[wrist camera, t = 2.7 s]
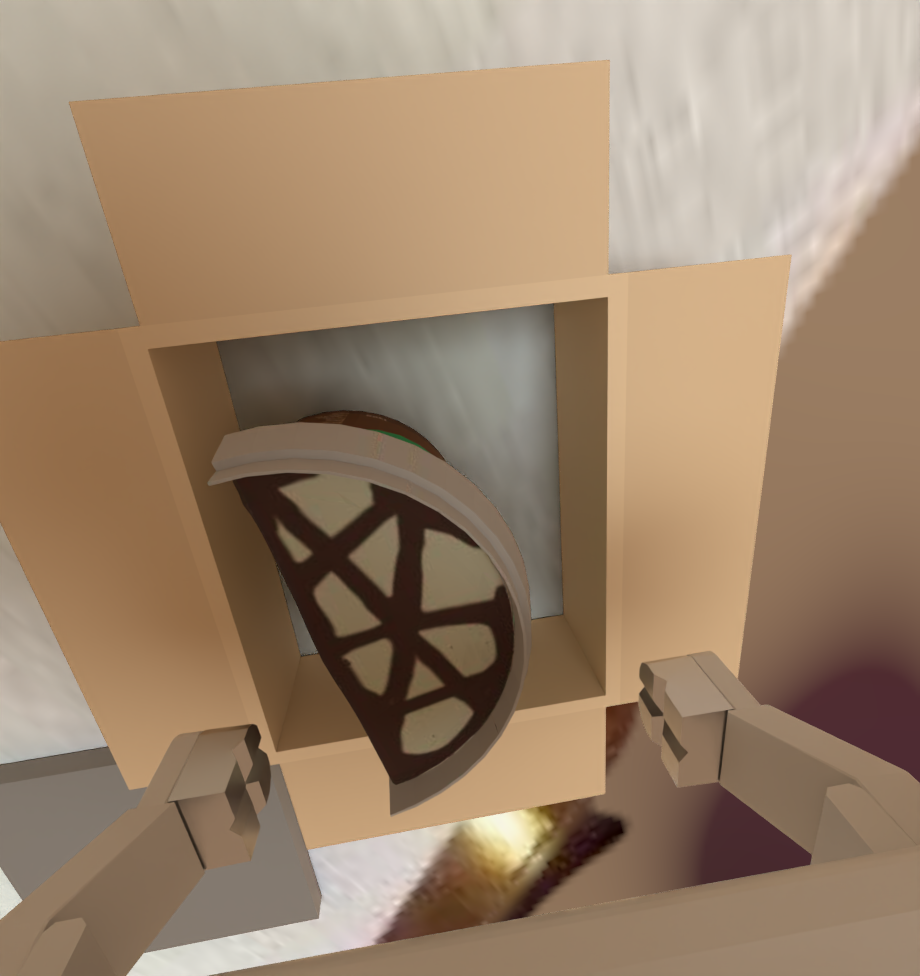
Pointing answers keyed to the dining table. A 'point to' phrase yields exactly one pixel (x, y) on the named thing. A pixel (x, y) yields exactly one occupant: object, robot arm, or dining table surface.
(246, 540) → the carton
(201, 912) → the slate board
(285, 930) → the dining table surface
